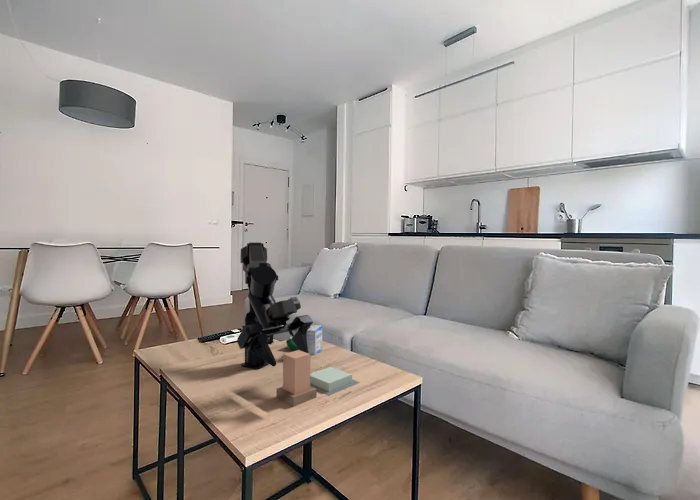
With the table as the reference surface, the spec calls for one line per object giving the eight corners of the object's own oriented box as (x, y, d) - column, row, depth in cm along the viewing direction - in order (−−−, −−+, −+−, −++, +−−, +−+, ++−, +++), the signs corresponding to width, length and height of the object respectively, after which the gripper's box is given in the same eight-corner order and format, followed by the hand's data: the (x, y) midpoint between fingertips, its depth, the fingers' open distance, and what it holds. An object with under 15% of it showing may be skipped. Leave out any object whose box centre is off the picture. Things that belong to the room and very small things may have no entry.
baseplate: (299, 386, 91) (299, 382, 91) (330, 374, 99) (330, 371, 99) (328, 399, 83) (328, 395, 83) (360, 386, 91) (360, 382, 91)
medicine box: (315, 358, 113) (315, 331, 112) (302, 357, 114) (302, 330, 113) (322, 350, 120) (322, 325, 120) (309, 349, 121) (309, 324, 121)
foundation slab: (307, 382, 91) (307, 374, 91) (330, 374, 97) (330, 366, 97) (329, 391, 85) (329, 383, 85) (352, 382, 91) (352, 374, 91)
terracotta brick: (282, 388, 82) (283, 354, 82) (298, 383, 85) (298, 350, 85) (294, 394, 79) (294, 358, 79) (310, 388, 82) (310, 354, 82)
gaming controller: (308, 350, 127) (299, 336, 129) (314, 343, 126) (305, 330, 128) (291, 357, 119) (282, 342, 121) (298, 350, 118) (288, 336, 120)
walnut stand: (276, 401, 82) (276, 388, 82) (298, 393, 87) (298, 380, 87) (293, 411, 77) (293, 397, 77) (316, 401, 82) (316, 388, 82)
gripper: (243, 290, 80) (271, 350, 72) (308, 283, 93) (337, 333, 86) (226, 320, 85) (250, 378, 78) (290, 309, 99) (316, 358, 91)
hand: (291, 360), depth 83 cm, fingers open, 9 cm apart
